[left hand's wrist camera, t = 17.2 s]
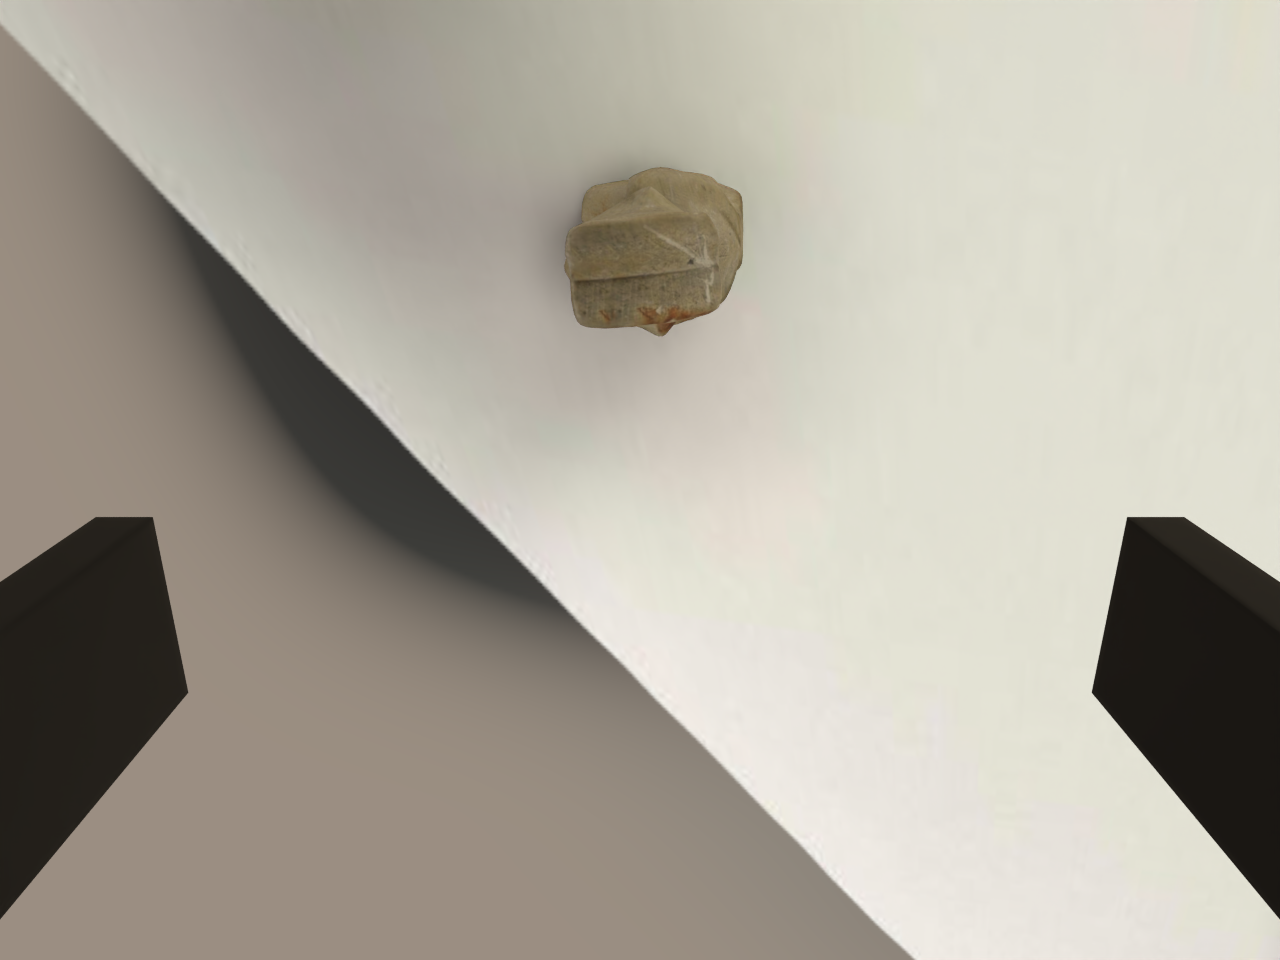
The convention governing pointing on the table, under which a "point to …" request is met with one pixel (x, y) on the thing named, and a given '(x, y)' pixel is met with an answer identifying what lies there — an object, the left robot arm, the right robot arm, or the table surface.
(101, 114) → the table surface
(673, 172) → the sculpture
